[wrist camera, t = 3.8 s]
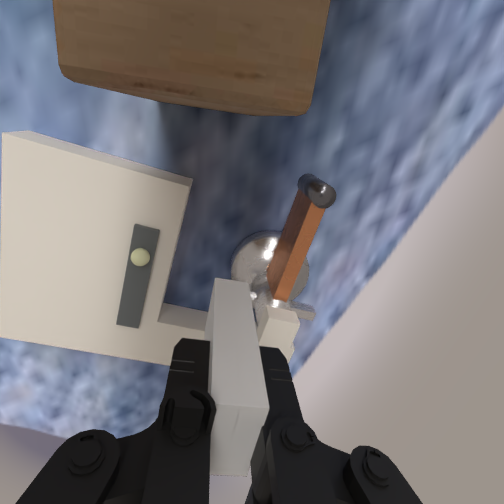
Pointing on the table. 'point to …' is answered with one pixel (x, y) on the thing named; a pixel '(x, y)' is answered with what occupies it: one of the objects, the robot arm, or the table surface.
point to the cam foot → (283, 252)
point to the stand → (98, 254)
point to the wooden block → (196, 51)
